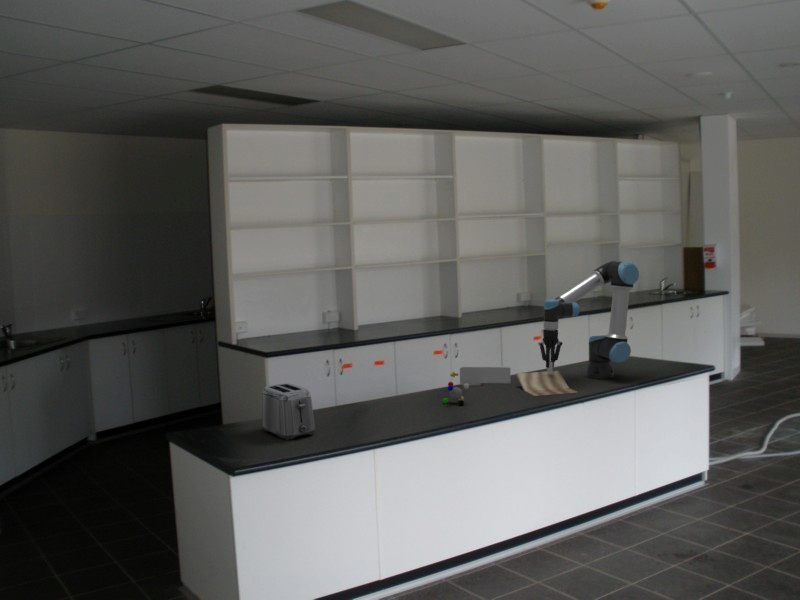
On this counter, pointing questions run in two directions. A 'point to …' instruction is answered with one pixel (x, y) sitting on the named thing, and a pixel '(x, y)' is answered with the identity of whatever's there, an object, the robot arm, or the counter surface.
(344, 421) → the counter surface
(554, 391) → the floor strip
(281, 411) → the toaster
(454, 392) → the molecular model
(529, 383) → the plank
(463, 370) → the decorative sign
